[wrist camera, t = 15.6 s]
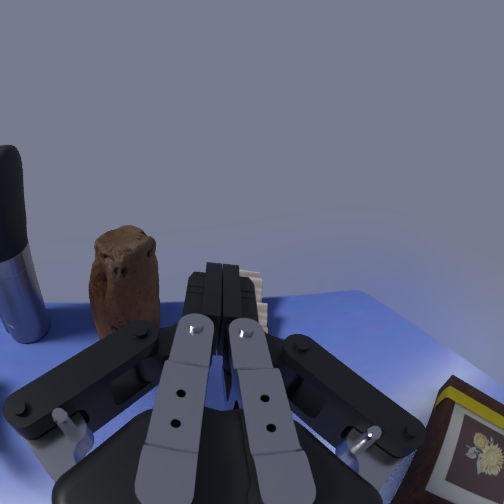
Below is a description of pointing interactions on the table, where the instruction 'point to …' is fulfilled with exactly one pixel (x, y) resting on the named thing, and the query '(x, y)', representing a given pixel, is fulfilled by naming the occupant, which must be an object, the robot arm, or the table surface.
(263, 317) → the domino
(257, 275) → the domino
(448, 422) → the picture frame
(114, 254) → the block
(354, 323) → the table surface
